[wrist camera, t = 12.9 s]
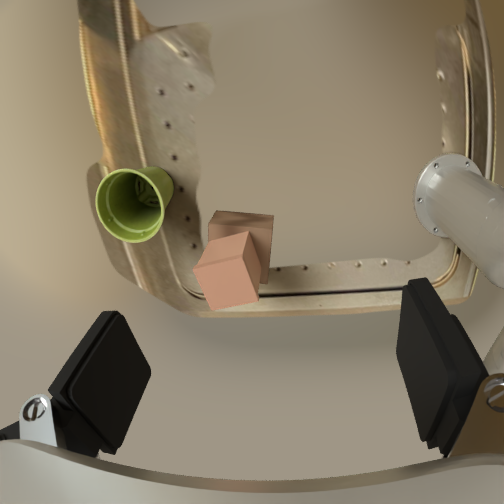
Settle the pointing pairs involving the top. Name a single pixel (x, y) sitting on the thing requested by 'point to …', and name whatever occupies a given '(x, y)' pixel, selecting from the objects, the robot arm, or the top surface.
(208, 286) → the peach lipped block
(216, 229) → the walnut box
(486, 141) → the top surface
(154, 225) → the plant pot
